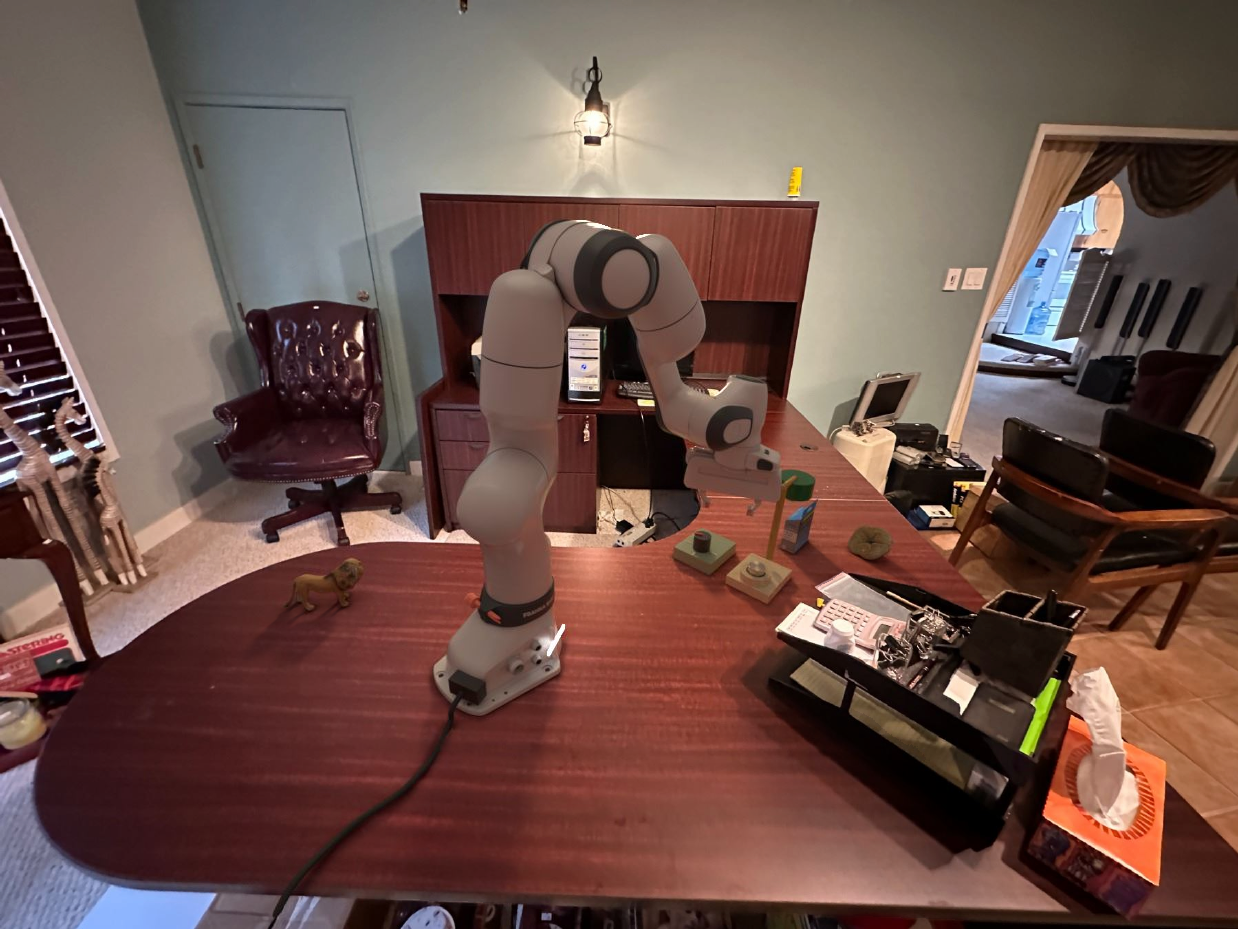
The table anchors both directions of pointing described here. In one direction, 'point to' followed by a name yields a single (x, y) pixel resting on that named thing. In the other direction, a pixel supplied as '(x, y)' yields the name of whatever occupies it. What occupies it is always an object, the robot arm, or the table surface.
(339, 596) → the lion figurine
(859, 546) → the fossil
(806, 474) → the lamp
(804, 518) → the blue box
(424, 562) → the table surface
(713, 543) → the dimmer panel
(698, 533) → the dimmer knob
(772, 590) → the lamp base
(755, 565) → the lamp button
